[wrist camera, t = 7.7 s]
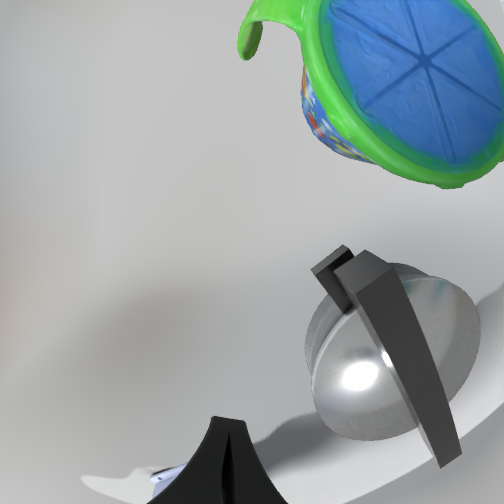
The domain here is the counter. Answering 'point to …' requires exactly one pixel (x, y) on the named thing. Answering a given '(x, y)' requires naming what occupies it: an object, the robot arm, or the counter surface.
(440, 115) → the snack cup
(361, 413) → the lid
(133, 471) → the counter surface
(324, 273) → the pot
